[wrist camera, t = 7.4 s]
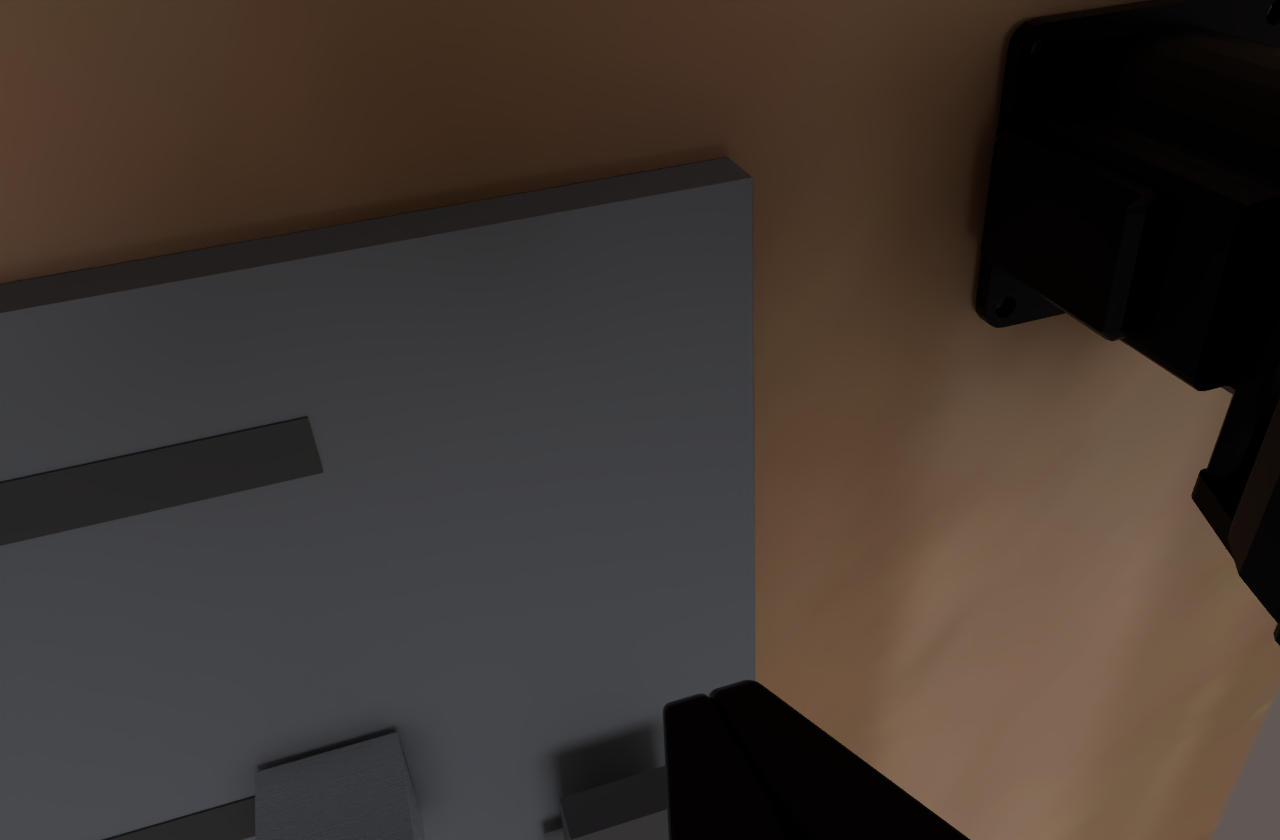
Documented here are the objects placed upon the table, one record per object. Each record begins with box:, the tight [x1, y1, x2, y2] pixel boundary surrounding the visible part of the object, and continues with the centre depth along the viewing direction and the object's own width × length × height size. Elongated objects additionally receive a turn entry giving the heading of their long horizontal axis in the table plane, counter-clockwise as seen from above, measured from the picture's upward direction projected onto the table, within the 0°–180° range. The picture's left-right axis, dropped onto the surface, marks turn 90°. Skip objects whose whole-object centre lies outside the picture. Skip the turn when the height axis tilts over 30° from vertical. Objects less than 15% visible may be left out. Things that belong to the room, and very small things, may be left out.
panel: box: [0, 157, 755, 840], centre depth 21 cm, size 20×19×3 cm
